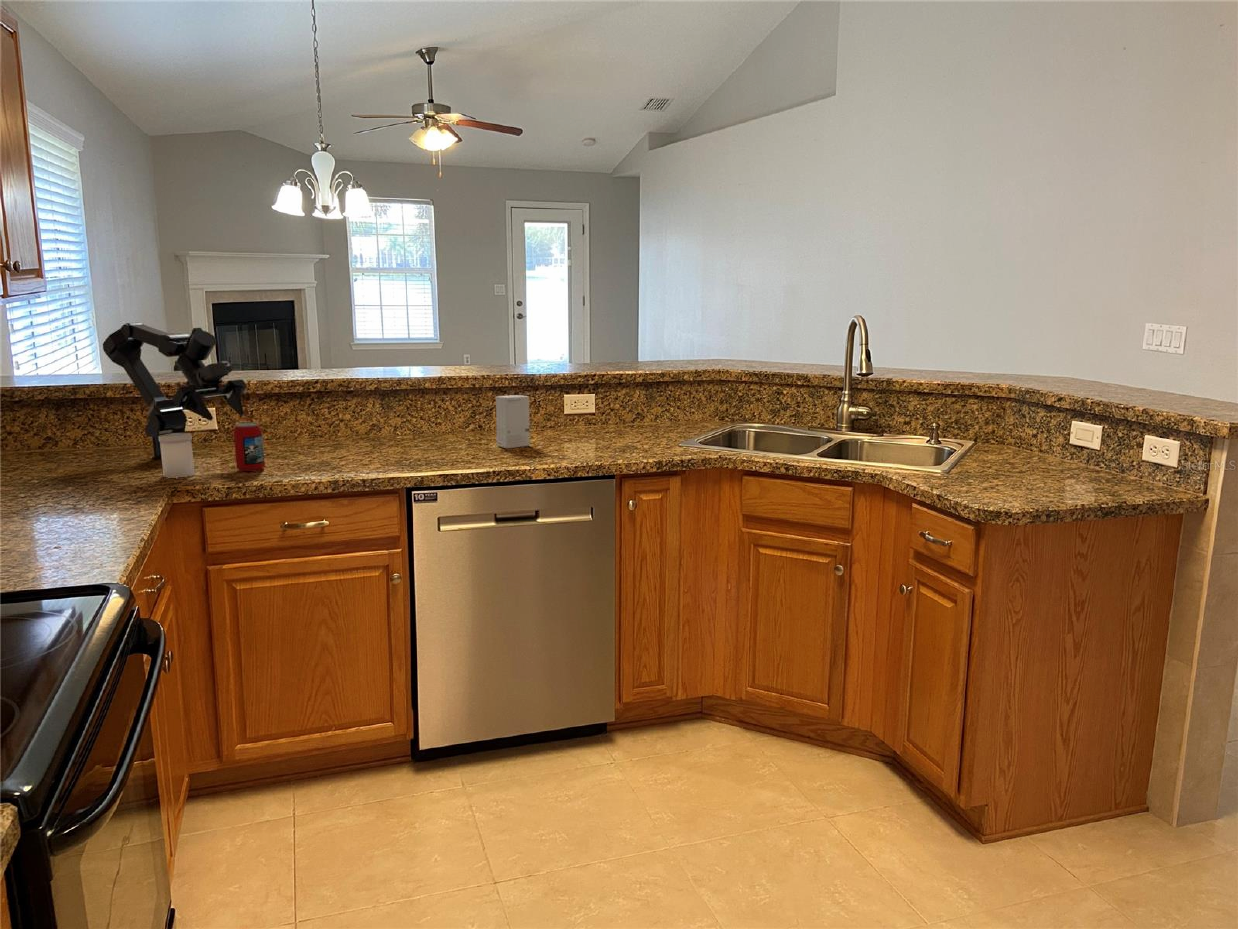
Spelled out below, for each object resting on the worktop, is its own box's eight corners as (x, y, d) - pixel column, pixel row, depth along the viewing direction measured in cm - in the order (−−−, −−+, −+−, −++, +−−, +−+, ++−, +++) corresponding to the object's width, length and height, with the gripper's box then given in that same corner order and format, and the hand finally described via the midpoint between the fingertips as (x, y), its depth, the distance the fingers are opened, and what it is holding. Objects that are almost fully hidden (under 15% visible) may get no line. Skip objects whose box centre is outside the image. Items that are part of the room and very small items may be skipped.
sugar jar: (157, 479, 221) (153, 438, 219) (169, 472, 228) (165, 433, 226) (189, 478, 222) (185, 437, 220) (199, 472, 229) (195, 432, 227)
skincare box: (506, 449, 259) (505, 398, 255) (495, 446, 263) (494, 395, 260) (531, 445, 264) (530, 395, 261) (520, 442, 268) (519, 393, 265)
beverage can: (255, 473, 228) (251, 426, 225) (231, 472, 229) (227, 425, 227) (270, 467, 234) (266, 422, 232) (247, 466, 235) (243, 421, 233)
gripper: (174, 354, 224) (207, 401, 221) (238, 348, 240) (270, 392, 236) (158, 383, 229) (190, 430, 226) (222, 376, 245) (253, 419, 242)
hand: (227, 417), depth 232 cm, fingers open, 9 cm apart
